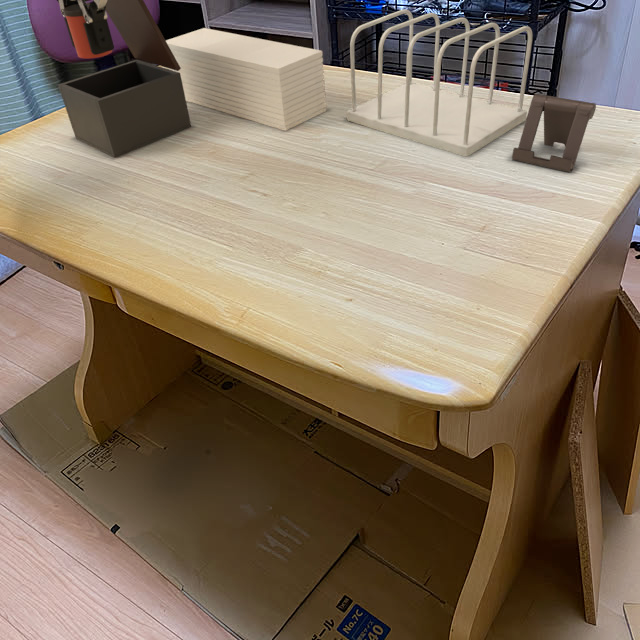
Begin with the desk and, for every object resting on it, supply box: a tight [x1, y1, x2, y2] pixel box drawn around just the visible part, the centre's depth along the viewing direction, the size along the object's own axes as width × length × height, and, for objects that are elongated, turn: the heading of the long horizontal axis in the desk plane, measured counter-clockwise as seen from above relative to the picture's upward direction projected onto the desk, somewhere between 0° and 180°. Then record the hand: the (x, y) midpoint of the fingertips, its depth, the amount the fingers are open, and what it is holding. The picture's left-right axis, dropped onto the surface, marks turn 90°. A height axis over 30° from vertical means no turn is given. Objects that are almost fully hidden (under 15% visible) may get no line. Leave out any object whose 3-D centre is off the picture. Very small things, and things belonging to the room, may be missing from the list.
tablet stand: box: [511, 93, 597, 173], centre depth 91 cm, size 9×8×8 cm
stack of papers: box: [165, 27, 327, 132], centre depth 116 cm, size 32×11×11 cm, turn 48°
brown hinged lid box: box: [57, 59, 192, 159], centre depth 109 cm, size 16×14×10 cm
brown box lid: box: [106, 0, 181, 71], centre depth 104 cm, size 17×14×5 cm
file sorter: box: [346, 8, 533, 157], centre depth 102 cm, size 25×17×16 cm
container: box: [63, 2, 113, 59], centre depth 86 cm, size 5×5×6 cm
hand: (93, 47), depth 87 cm, fingers closed on container, 4 cm apart
